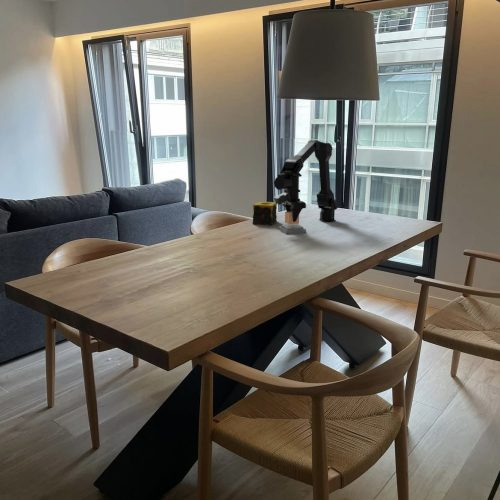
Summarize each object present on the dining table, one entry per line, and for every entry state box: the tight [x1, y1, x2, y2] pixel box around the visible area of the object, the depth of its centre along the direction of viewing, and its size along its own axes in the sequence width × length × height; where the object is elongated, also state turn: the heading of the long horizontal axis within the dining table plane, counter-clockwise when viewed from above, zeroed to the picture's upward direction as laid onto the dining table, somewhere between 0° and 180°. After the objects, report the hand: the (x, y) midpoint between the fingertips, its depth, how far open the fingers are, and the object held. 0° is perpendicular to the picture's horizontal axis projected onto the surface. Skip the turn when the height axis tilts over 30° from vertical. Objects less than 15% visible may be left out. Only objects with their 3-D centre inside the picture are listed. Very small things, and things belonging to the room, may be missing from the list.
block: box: [284, 211, 300, 225], centre depth 228 cm, size 5×5×5 cm
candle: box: [252, 201, 278, 226], centre depth 247 cm, size 10×10×10 cm
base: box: [277, 223, 307, 235], centre depth 230 cm, size 10×10×2 cm
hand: (292, 220), depth 229 cm, fingers open, 5 cm apart
